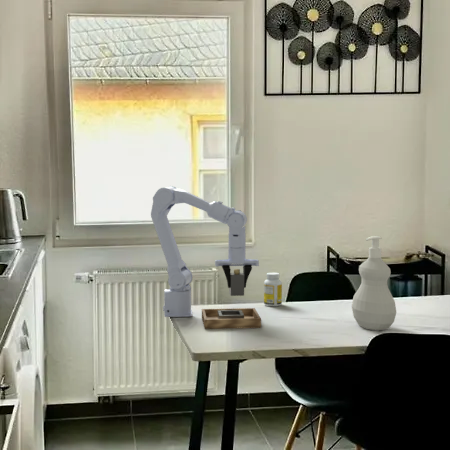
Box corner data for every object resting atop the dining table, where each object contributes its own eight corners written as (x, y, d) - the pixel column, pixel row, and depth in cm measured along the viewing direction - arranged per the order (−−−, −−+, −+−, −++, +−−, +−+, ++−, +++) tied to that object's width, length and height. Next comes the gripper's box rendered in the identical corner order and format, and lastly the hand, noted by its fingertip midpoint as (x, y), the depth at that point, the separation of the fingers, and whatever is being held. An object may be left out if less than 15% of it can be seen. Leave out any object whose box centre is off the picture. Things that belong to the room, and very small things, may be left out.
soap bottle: (342, 324, 257) (344, 234, 254) (369, 320, 263) (371, 232, 260) (376, 335, 243) (379, 240, 240) (405, 331, 249) (407, 238, 246)
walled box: (204, 328, 250) (204, 319, 250) (201, 317, 266) (201, 308, 266) (260, 328, 252) (261, 318, 252) (254, 316, 268) (254, 308, 267)
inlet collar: (219, 323, 255) (219, 315, 254) (217, 317, 263) (217, 310, 262) (244, 322, 255) (244, 315, 255) (241, 317, 263) (241, 310, 263)
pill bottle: (281, 303, 290) (282, 272, 289) (281, 307, 284) (281, 275, 283) (264, 302, 291) (264, 271, 290) (263, 306, 284) (263, 274, 283)
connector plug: (230, 295, 263) (230, 270, 263) (229, 293, 268) (229, 268, 267) (244, 295, 264) (244, 270, 263) (242, 293, 268) (242, 268, 267)
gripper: (256, 245, 269) (256, 284, 270) (214, 245, 267) (214, 285, 269) (259, 248, 262) (259, 288, 263) (216, 248, 260) (216, 289, 262)
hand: (236, 287), depth 266 cm, fingers closed on connector plug, 4 cm apart
